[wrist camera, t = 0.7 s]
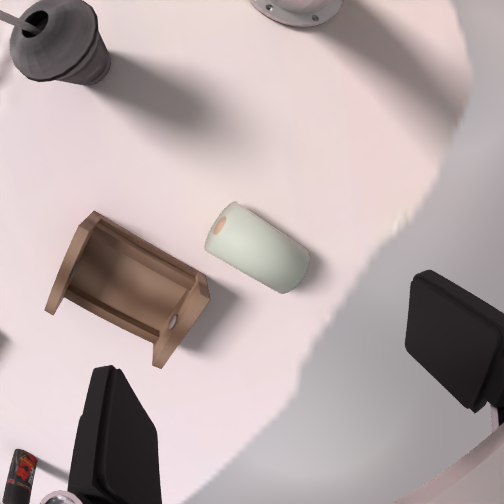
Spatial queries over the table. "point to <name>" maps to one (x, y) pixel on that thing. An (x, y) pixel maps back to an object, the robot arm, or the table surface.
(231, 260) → the paper roll
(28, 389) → the table surface
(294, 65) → the table surface
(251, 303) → the table surface
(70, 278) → the walnut cradle
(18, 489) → the deodorant
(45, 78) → the beverage cup
